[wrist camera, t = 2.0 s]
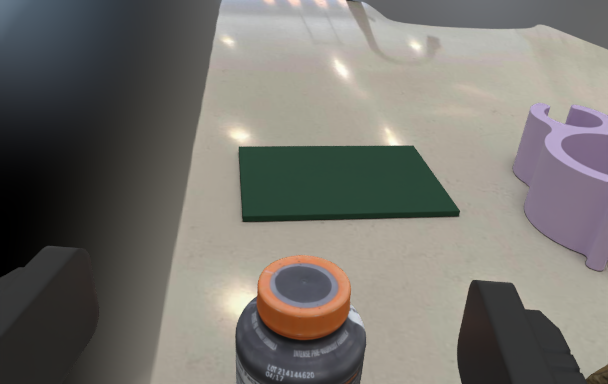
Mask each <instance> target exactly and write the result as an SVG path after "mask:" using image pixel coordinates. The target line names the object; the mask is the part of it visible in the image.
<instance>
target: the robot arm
mask: <svg viewBox="0 0 608 384" xmlns="http://www.w3.org/2000/svg"><path fill="white" fill-rule="evenodd" d="M98 317H99V306H98V300H97V294H96V289H95V283H94V278H93V273H92V267H91V262H90V257H89V254H88V252H87V251H86V250H85V249H81V248H69V247H55V246H47V247H45V248H43V249H42V250H41V251H40V252H39V253H38V254H37V255H36V256H35V257H34V258H33V259H32V260H31V261H30V263H28V264H27V265H26V266H25V268H20V267H19V268H17V269H16V270H14V271H12V272H10V273H9V274H7V275H5V276H3V277H1V278H0V384H62V382H63V381H64V379H65V378H66V376H67V375H68V373H69V372H70V370H71V368H72V367H73V365H74V364H75V362H76V361H77V359H78V358H79V356H80V355H81V353H82V351H83V350H84V348H85V347H86V346H87V344H88V343H89V341H90V339H91V338H92V336H93V334H94V332H95V330H96V327H97V323H98ZM457 360H458V369H459V374H460V378H461V382H462V384H587V382H586V380H585V378H584V376H583V374H582V373H580V368H579V366H578V364H577V362H576V360H575V358H574V356H573V355H571V354H570V349H569V347H568V345H567V343H566V341H565V339H564V337H563V335H562V333H561V331H560V329H559V328H558V327H556V326H555V325H554V324H553V323H552V322H551V321H550V320H549V319H548V318H547V317H546V316H545V315H544V314H543V313H542V312H541V311H539V310H526V309H525V308H524V306H523V304H522V302H521V299H520V297H519V295H518V293H517V290H516V288H515V286H514V285H513V284H512V283H507V282H494V281H481V280H473V281H472V282H471V284H470V287H469V291H468V296H467V300H466V305H465V310H464V314H463V319H462V324H461V328H460V333H459V338H458V346H457Z"/></svg>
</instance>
